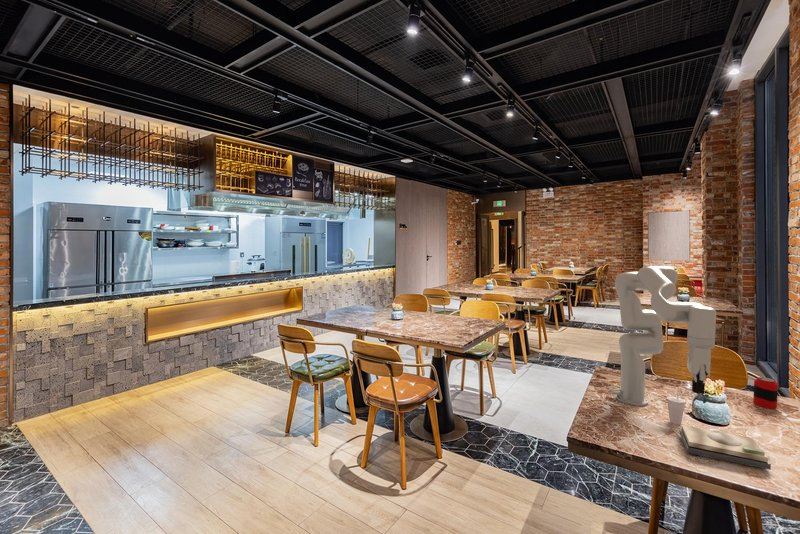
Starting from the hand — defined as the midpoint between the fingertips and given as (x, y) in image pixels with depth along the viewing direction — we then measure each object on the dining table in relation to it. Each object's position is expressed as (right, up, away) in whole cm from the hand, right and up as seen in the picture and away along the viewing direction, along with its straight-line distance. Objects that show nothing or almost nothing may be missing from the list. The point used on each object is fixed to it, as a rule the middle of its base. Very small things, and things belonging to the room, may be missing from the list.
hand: (698, 392), depth 131 cm
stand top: (+6, -17, -3) cm, 18 cm away
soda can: (+59, -18, +35) cm, 71 cm away
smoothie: (+7, -19, +20) cm, 28 cm away
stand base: (+6, -20, -3) cm, 21 cm away
